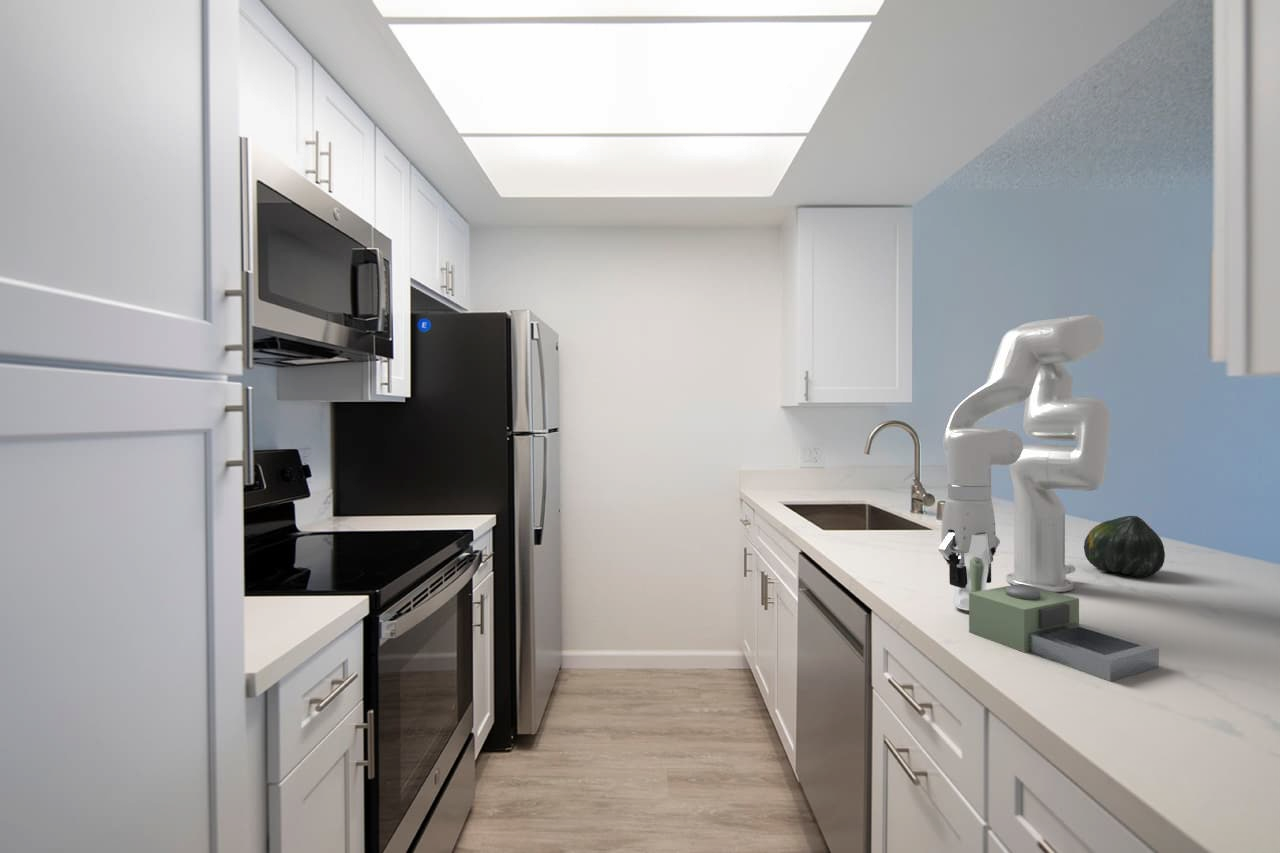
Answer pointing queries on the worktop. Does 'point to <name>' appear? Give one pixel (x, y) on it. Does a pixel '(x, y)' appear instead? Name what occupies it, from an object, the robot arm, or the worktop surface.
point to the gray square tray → (1094, 651)
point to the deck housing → (1019, 613)
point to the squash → (1125, 547)
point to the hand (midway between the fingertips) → (970, 582)
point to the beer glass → (973, 569)
